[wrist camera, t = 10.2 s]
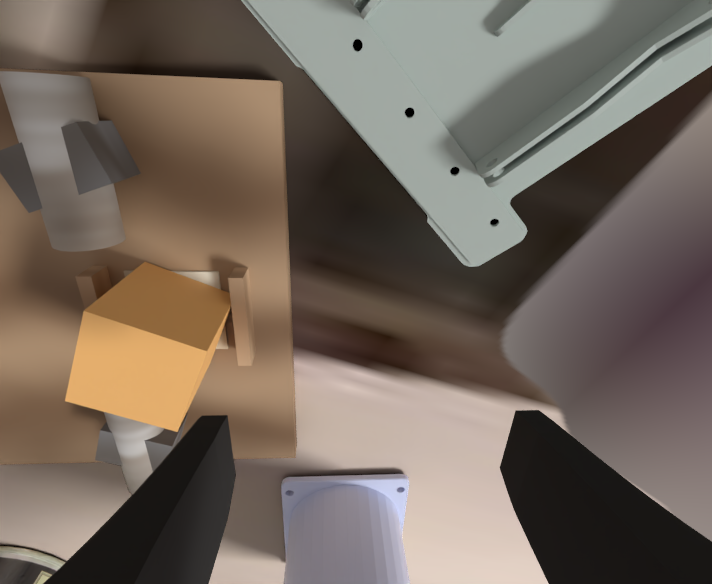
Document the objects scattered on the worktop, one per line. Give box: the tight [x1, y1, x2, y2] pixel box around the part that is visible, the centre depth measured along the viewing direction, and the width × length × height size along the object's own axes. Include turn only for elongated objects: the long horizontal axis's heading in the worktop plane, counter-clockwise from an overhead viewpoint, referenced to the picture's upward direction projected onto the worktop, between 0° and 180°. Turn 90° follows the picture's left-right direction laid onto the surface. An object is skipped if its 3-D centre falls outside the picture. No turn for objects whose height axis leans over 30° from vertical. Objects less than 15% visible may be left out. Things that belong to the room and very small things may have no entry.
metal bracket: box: [241, 0, 712, 267], centre depth 14 cm, size 14×6×15 cm
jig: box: [0, 68, 297, 495], centre depth 17 cm, size 19×18×3 cm
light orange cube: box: [65, 262, 231, 432], centre depth 15 cm, size 4×4×4 cm
